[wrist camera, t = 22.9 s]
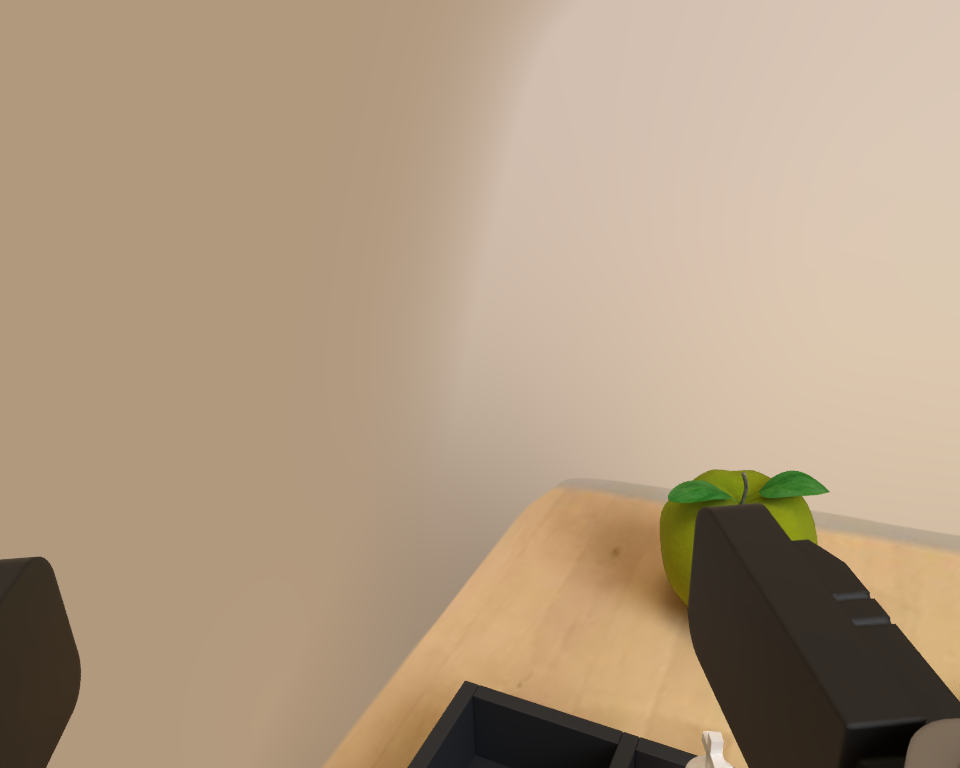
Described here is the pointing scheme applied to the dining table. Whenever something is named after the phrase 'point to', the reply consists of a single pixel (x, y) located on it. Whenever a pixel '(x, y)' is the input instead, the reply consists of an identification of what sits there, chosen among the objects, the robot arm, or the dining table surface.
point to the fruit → (726, 490)
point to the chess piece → (710, 752)
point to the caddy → (532, 738)
